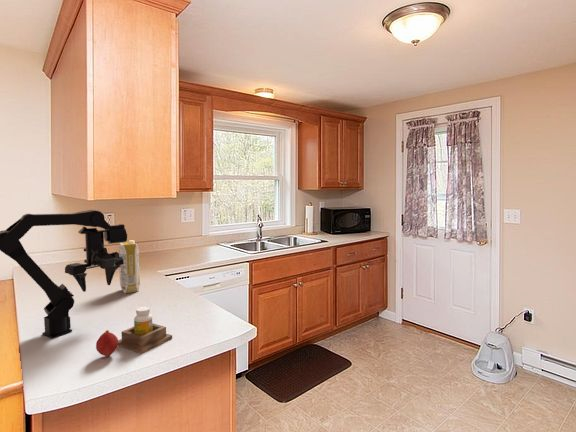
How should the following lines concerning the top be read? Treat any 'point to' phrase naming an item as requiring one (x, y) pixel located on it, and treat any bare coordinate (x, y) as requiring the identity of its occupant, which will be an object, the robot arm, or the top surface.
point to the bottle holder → (143, 339)
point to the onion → (107, 343)
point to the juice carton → (129, 267)
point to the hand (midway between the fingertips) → (97, 288)
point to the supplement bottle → (143, 321)
